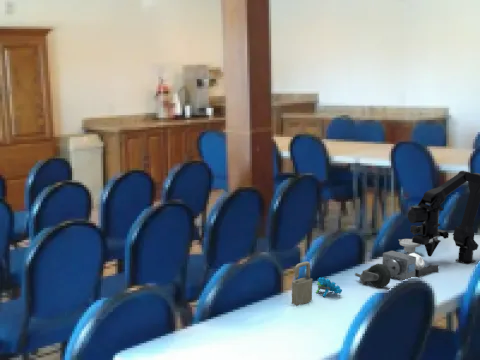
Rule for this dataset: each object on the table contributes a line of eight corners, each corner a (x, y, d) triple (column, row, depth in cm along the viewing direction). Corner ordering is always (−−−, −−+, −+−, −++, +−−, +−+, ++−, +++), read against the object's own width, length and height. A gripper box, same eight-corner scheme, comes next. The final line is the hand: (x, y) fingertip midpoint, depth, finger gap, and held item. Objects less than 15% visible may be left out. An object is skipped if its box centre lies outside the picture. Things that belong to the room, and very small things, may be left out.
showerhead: (396, 236, 316) (418, 236, 316) (395, 251, 317) (417, 252, 317) (400, 242, 307) (423, 242, 306) (400, 257, 308) (422, 258, 308)
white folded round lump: (418, 275, 283) (419, 257, 282) (401, 271, 288) (402, 254, 287) (426, 270, 290) (427, 253, 288) (409, 267, 294) (410, 249, 293)
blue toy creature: (347, 292, 257) (332, 277, 253) (340, 305, 255) (325, 290, 251) (327, 288, 266) (312, 273, 262) (320, 301, 264) (305, 286, 260)
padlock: (290, 302, 251) (290, 263, 248) (305, 298, 256) (306, 259, 253) (298, 305, 248) (298, 265, 245) (313, 300, 253) (314, 261, 250)
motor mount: (409, 263, 299) (410, 243, 297) (438, 272, 288) (440, 251, 286) (376, 274, 284) (377, 253, 283) (405, 283, 273) (406, 261, 272)
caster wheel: (391, 289, 269) (358, 277, 278) (394, 266, 266) (361, 255, 276) (383, 293, 265) (351, 281, 274) (387, 269, 262) (353, 258, 272)
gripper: (428, 214, 304) (426, 248, 307) (402, 220, 292) (400, 256, 295) (450, 218, 296) (448, 253, 298) (424, 225, 284) (422, 262, 287)
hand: (429, 256), depth 295 cm, fingers closed
